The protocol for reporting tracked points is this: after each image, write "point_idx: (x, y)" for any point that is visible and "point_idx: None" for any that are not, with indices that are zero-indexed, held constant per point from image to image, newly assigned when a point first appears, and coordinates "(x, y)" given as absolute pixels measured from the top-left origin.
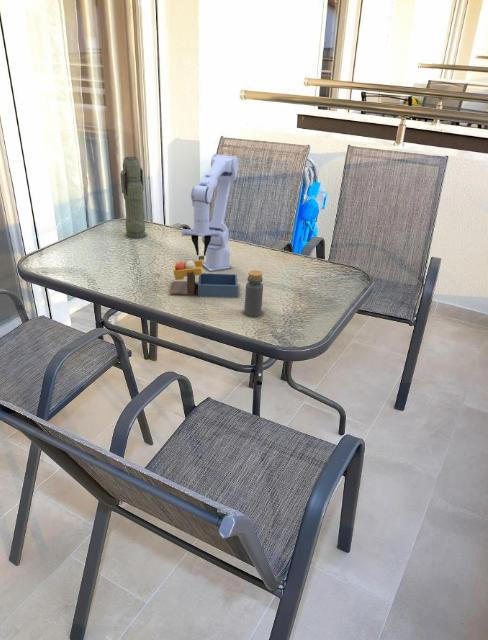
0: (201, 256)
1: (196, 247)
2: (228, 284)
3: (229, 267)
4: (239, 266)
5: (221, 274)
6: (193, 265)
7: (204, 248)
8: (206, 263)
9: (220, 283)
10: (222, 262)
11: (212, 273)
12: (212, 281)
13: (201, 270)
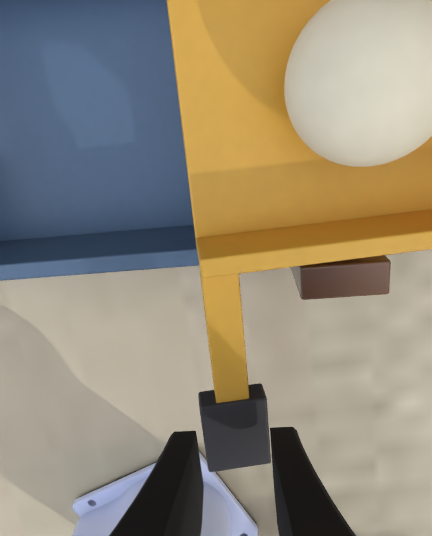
0: (234, 451)
1: (321, 528)
2: (11, 236)
3: (75, 501)
4: (26, 527)
5: (27, 261)
6: (315, 22)
7: (163, 520)
8: (224, 518)
9: (70, 236)
10: (109, 529)
11: (115, 270)
12: (129, 235)
13: (180, 58)
